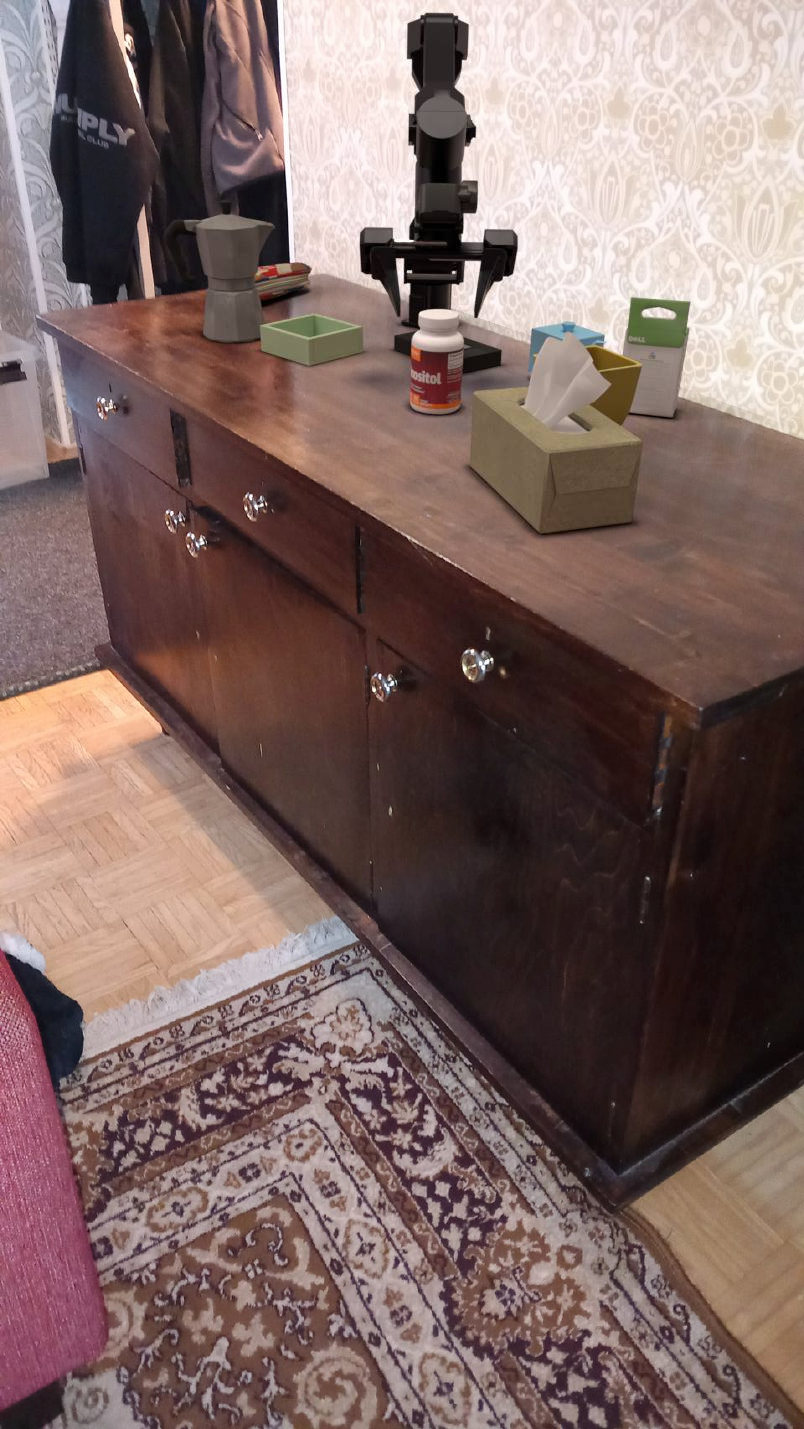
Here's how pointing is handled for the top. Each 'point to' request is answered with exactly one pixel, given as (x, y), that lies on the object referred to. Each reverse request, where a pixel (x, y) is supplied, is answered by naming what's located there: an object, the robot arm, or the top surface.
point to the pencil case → (281, 279)
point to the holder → (311, 339)
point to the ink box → (657, 354)
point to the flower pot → (614, 382)
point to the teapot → (562, 337)
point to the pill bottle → (436, 363)
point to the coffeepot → (225, 271)
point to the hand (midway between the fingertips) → (437, 315)
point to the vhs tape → (473, 352)
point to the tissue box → (557, 445)
